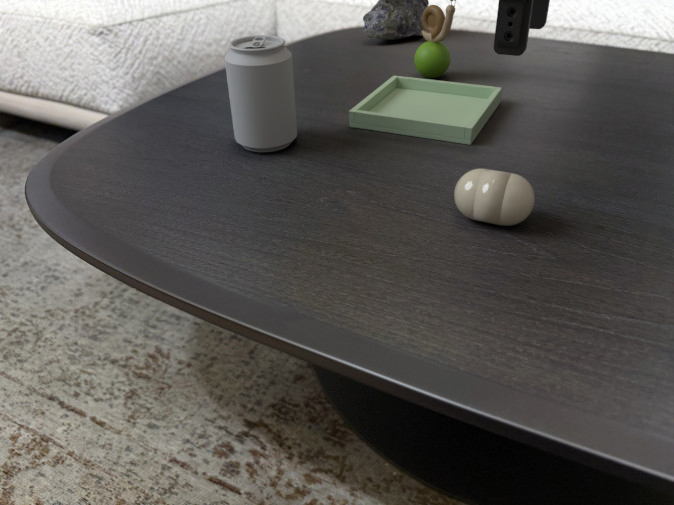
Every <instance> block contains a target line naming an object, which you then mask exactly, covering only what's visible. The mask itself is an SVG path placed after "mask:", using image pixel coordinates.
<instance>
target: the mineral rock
mask: <svg viewBox="0 0 674 505" xmlns="http://www.w3.org/2000/svg"><path fill="white" fill-rule="evenodd" d="M428 6H430V2H429V0H378V1H377V2H376V3H375V4H374V5H373V7H372V8H371V9H370V10H369V11H367V12H366V13H365V14H364V15H363V16H362V21H363V22H364V25H363V26H364V27H363V33H364V34H365V36H366V37H367V38H369V39H378V40H393V41H397V40H402V39H404V38H407V37H416V36H417V37H423V35H422V30H424V31H426V30H425V29H424V27H423V23H422V15H423V12H424V10H425V9H426V8H427V7H428Z"/></svg>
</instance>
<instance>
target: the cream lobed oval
mask: <svg viewBox="0 0 674 505" xmlns="http://www.w3.org/2000/svg"><path fill="white" fill-rule="evenodd" d="M453 200H454V203H455V206H456V209H457V210H458V211H459V212H460V214H462V215H463V216H464V217H466V218H467V219H469V220H472V221H477V222H481V223H486V224H492V225H496V226H502V227H510V226H511V227H512V226H515V225H518V224H521V223H522V222H524V221H525V220H526V219H528V217H529V216H530V215H531V213H532V212H533V210H534V207H535V203H536V195H535V190H534V187H533V186H532V184H531V183H530V182H529V180H528V179H526V178H525V177H524V176H523V175H521V174H518V173H514V172H509V171H503V170H498V169H492V168H483V167H478V168H473V169H471V170H469V171H466V172H465V173H464V174H462V176H461V177H460V178H459V179H458V180H457V182H456V184H455V187H454V191H453Z"/></svg>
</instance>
